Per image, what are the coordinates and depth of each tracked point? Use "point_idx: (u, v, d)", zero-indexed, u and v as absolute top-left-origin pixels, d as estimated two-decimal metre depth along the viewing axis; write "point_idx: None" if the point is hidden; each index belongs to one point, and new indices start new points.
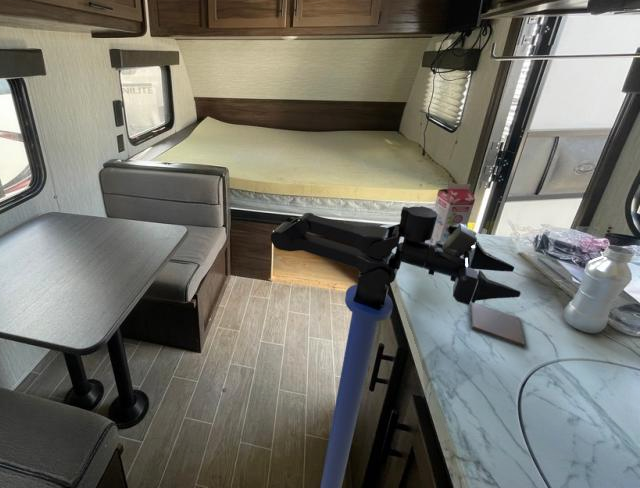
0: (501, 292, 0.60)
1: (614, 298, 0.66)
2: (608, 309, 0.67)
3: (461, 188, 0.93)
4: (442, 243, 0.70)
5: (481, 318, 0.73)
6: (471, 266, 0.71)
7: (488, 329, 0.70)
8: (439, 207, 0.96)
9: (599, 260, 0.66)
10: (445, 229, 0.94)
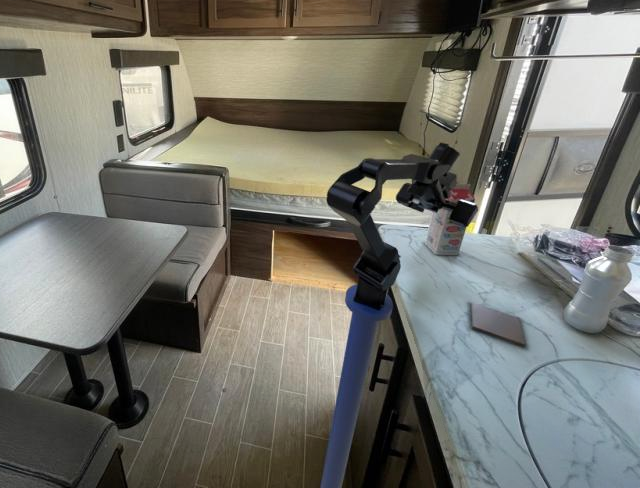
0: None
1: (614, 298, 0.66)
2: (607, 309, 0.67)
3: (461, 188, 0.93)
4: None
5: (481, 318, 0.73)
6: (411, 206, 0.91)
7: (488, 329, 0.70)
8: None
9: (599, 260, 0.66)
10: (445, 229, 0.94)
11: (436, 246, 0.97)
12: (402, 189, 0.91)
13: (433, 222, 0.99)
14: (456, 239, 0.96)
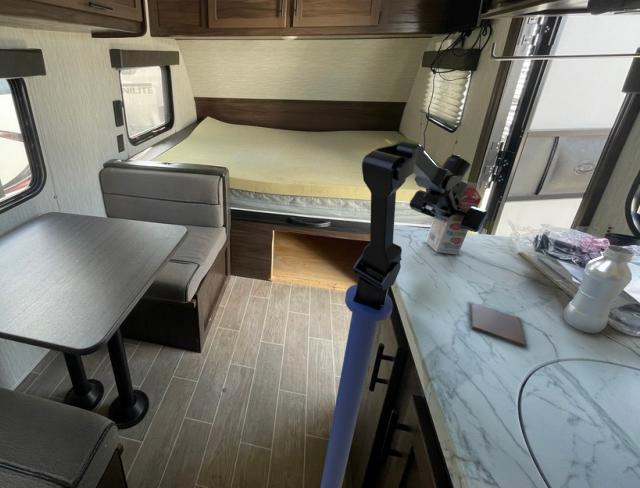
0: None
1: (614, 298, 0.66)
2: (607, 309, 0.67)
3: (468, 186, 0.94)
4: None
5: (481, 318, 0.73)
6: (424, 212, 0.97)
7: (488, 329, 0.70)
8: None
9: (599, 260, 0.66)
10: (449, 226, 0.94)
11: (438, 243, 0.97)
12: (415, 196, 0.98)
13: (436, 219, 0.99)
14: (458, 237, 0.96)
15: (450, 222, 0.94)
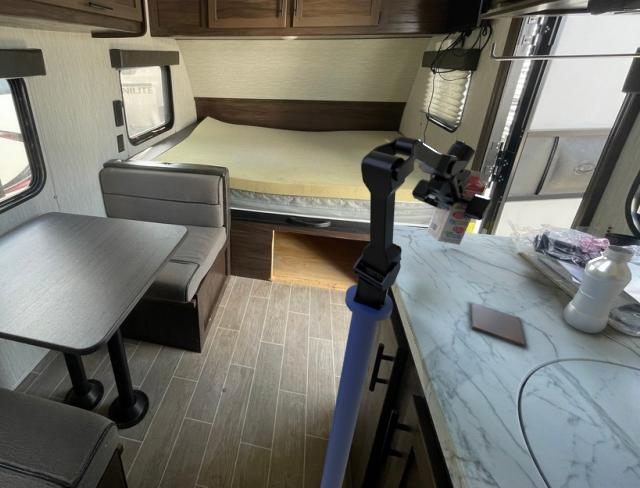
0: None
1: (614, 298, 0.66)
2: (607, 309, 0.67)
3: (472, 175, 0.93)
4: None
5: (481, 318, 0.73)
6: (427, 201, 0.96)
7: (488, 329, 0.70)
8: None
9: (599, 260, 0.66)
10: (452, 214, 0.93)
11: (440, 232, 0.96)
12: (418, 185, 0.97)
13: (439, 208, 0.98)
14: (460, 227, 0.94)
15: (453, 210, 0.93)
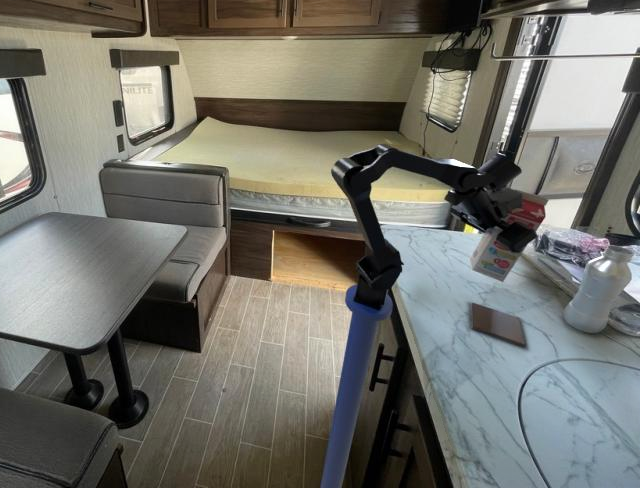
0: None
1: (614, 298, 0.66)
2: (607, 309, 0.67)
3: (533, 201, 0.75)
4: None
5: (481, 318, 0.73)
6: (466, 221, 0.83)
7: (488, 329, 0.70)
8: None
9: (599, 260, 0.66)
10: (493, 242, 0.78)
11: (476, 260, 0.81)
12: None
13: (485, 234, 0.83)
14: (505, 260, 0.78)
15: (495, 237, 0.78)
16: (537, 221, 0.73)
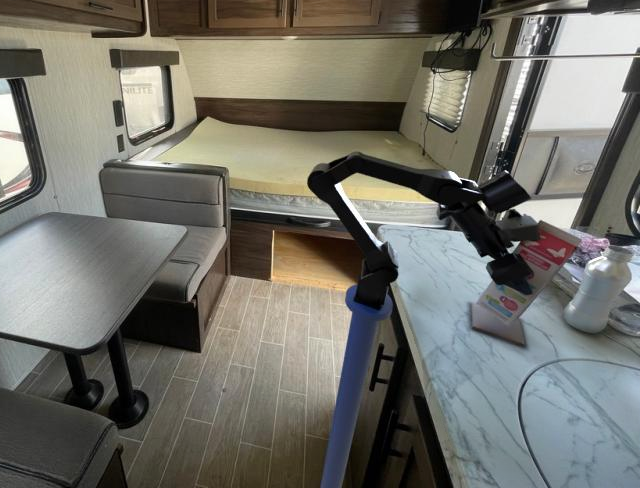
0: (522, 286, 0.62)
1: (614, 298, 0.66)
2: (607, 309, 0.67)
3: (562, 238, 0.61)
4: (495, 221, 0.66)
5: (481, 318, 0.73)
6: None
7: (488, 329, 0.70)
8: None
9: (599, 260, 0.66)
10: None
11: (482, 294, 0.71)
12: None
13: None
14: (512, 301, 0.66)
15: None
16: (555, 262, 0.60)
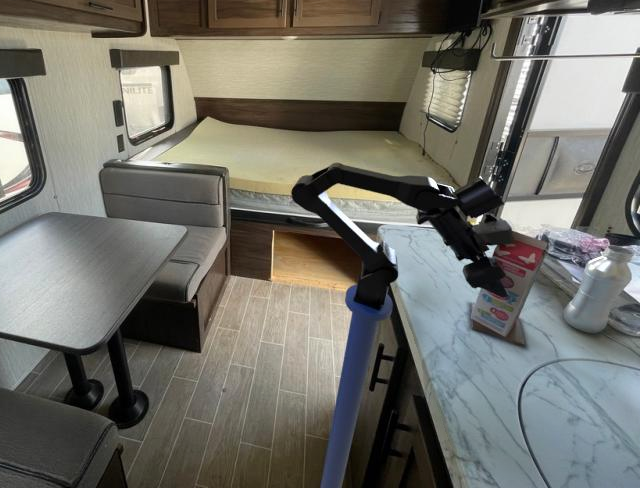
0: (497, 289, 0.64)
1: (614, 298, 0.66)
2: (607, 309, 0.67)
3: (529, 243, 0.64)
4: (472, 225, 0.68)
5: None
6: None
7: (488, 329, 0.70)
8: None
9: (599, 260, 0.66)
10: None
11: (474, 307, 0.72)
12: None
13: None
14: (502, 311, 0.67)
15: None
16: (528, 268, 0.62)
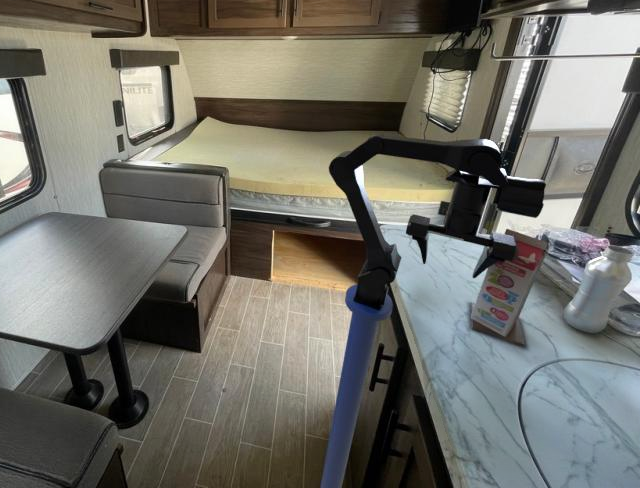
0: None
1: (614, 298, 0.66)
2: (607, 309, 0.67)
3: (529, 243, 0.64)
4: None
5: None
6: (427, 240, 0.68)
7: (488, 329, 0.70)
8: None
9: (599, 260, 0.66)
10: (485, 288, 0.69)
11: (474, 307, 0.72)
12: (414, 218, 0.70)
13: None
14: (502, 311, 0.67)
15: (486, 283, 0.69)
16: (528, 268, 0.62)
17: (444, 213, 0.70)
